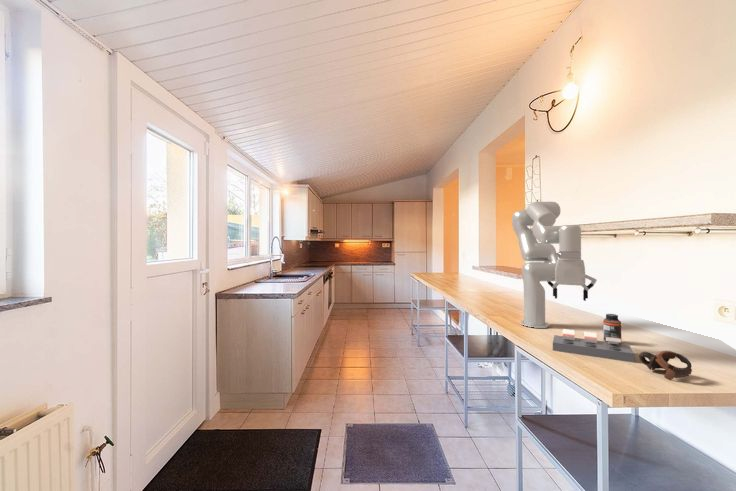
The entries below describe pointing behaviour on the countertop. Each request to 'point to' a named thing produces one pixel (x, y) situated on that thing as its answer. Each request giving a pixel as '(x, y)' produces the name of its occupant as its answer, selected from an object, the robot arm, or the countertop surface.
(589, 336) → the rocker middle
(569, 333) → the rocker
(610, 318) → the supplement bottle
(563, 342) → the power strip
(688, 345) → the countertop surface
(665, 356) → the brown linked rings
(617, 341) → the rocker
